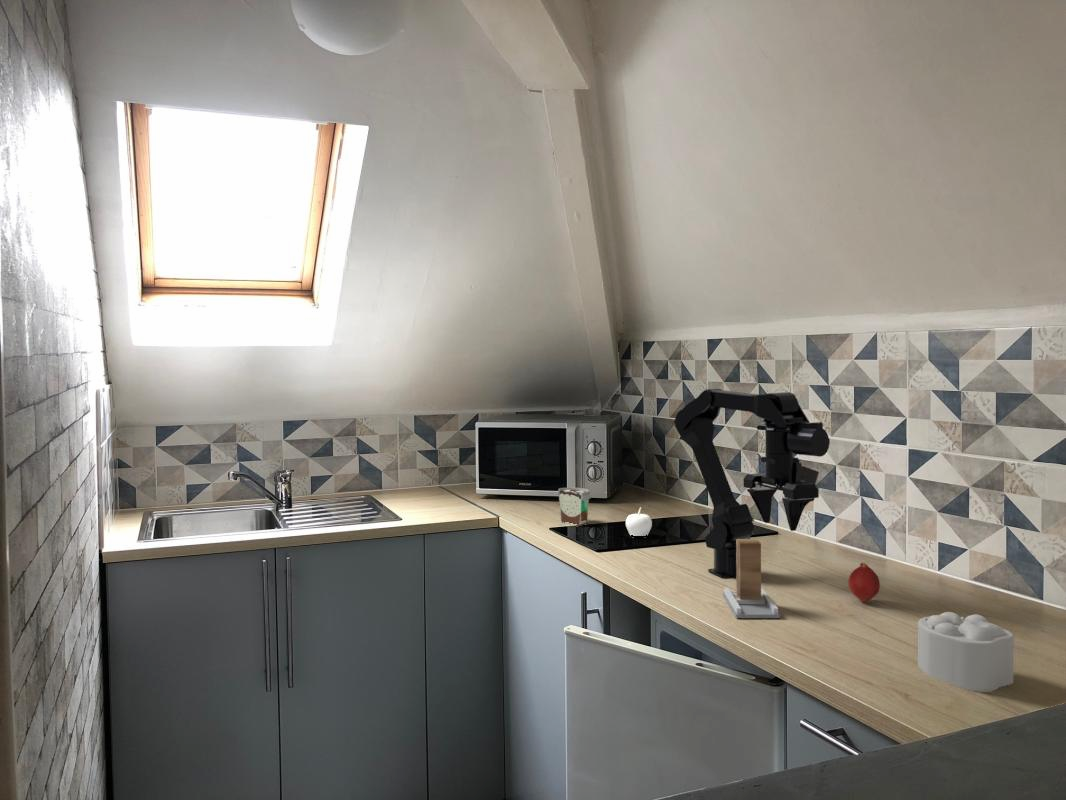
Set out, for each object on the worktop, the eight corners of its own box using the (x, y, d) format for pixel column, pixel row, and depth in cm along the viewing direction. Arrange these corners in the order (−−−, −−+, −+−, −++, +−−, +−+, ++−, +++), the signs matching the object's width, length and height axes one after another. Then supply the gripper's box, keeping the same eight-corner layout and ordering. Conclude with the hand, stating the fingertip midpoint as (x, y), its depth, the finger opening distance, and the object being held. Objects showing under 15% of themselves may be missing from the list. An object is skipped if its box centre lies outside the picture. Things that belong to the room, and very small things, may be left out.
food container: (599, 525, 248) (599, 491, 248) (583, 527, 245) (582, 493, 244) (574, 518, 259) (574, 486, 258) (558, 521, 255) (557, 488, 255)
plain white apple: (656, 538, 230) (656, 508, 229) (633, 540, 227) (632, 510, 227) (644, 533, 236) (644, 504, 236) (621, 535, 234) (621, 506, 233)
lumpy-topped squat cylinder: (980, 695, 122) (980, 636, 122) (901, 667, 133) (901, 613, 133) (1022, 680, 127) (1023, 623, 127) (942, 655, 138) (943, 602, 138)
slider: (722, 596, 174) (722, 587, 174) (762, 596, 173) (762, 587, 173) (736, 618, 159) (736, 609, 159) (779, 618, 158) (779, 609, 158)
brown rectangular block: (732, 597, 170) (732, 538, 169) (759, 596, 170) (759, 538, 169) (737, 604, 165) (736, 544, 164) (765, 604, 165) (765, 543, 164)
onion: (854, 596, 172) (854, 557, 172) (883, 601, 168) (884, 561, 168) (844, 603, 168) (844, 562, 167) (874, 608, 164) (874, 567, 164)
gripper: (841, 455, 172) (841, 531, 172) (785, 446, 189) (785, 516, 190) (794, 458, 168) (794, 536, 169) (741, 448, 186) (742, 519, 186)
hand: (779, 526), depth 179 cm, fingers open, 9 cm apart
